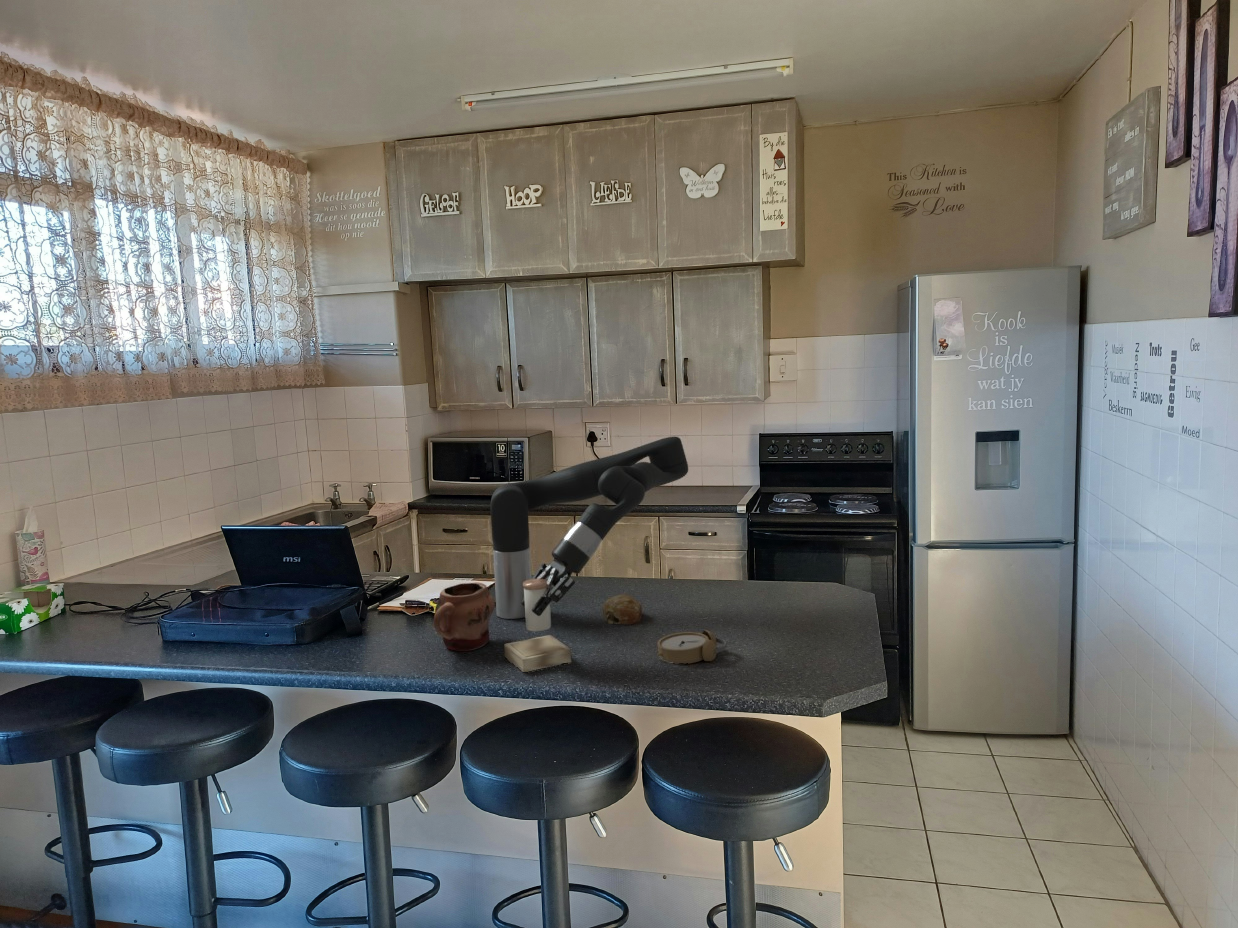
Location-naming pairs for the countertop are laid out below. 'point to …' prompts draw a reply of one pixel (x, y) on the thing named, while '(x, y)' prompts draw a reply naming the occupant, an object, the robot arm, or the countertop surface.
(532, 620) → the canister
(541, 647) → the plinth
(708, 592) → the countertop surface
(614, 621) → the bread roll
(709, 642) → the alarm clock
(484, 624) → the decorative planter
